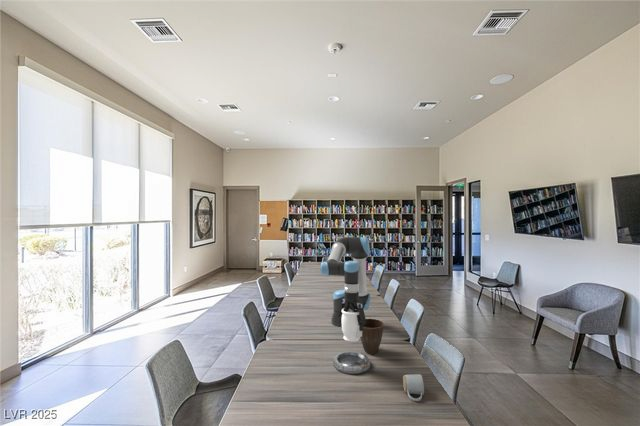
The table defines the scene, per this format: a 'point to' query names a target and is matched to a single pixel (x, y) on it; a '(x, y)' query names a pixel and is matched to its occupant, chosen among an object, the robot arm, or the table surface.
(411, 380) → the ceramic mug
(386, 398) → the table surface
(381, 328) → the plant pot
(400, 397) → the table surface
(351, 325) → the jar
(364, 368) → the grey shallow round dish
